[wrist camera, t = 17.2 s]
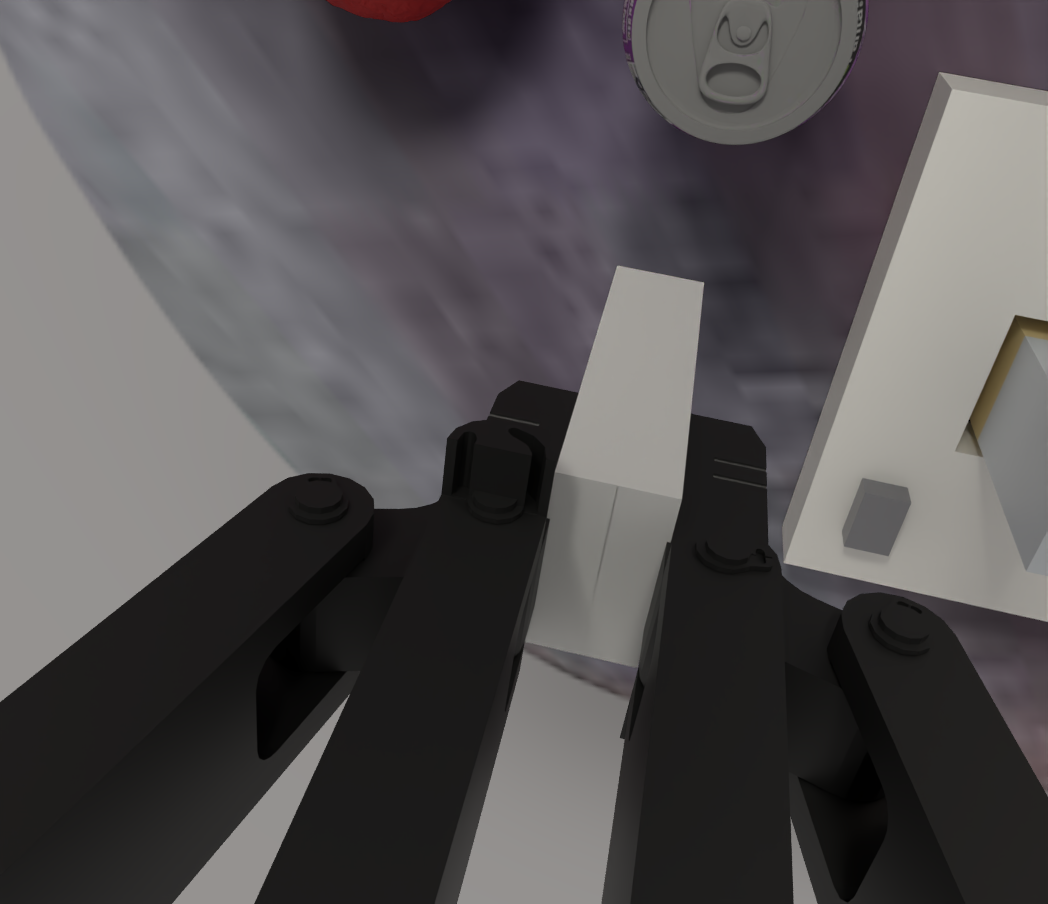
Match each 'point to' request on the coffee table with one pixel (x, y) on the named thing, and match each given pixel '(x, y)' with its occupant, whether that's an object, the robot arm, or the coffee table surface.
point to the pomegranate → (391, 8)
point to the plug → (1019, 436)
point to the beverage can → (741, 61)
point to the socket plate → (934, 363)
